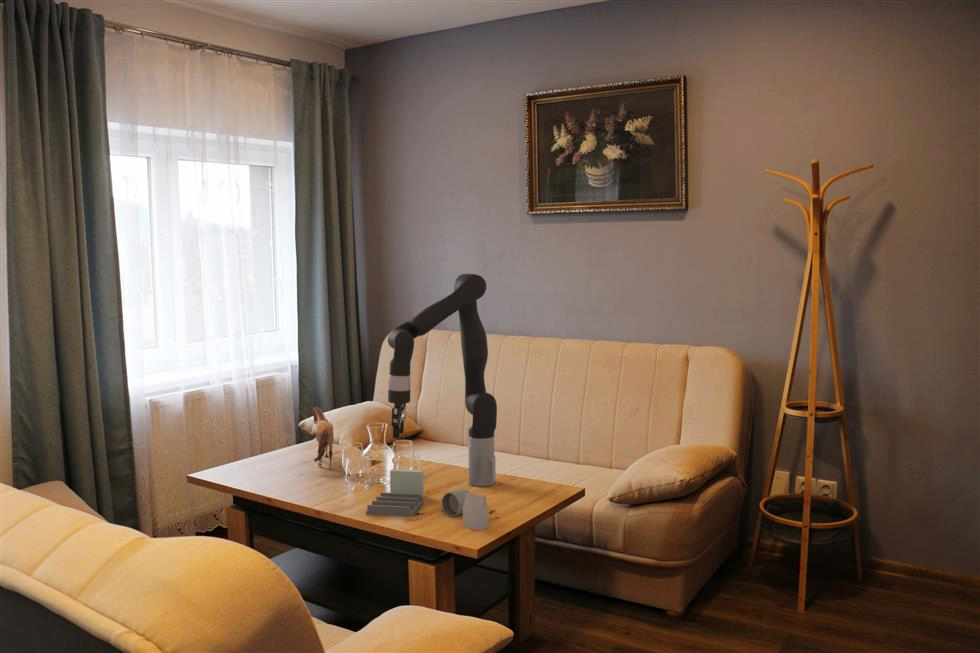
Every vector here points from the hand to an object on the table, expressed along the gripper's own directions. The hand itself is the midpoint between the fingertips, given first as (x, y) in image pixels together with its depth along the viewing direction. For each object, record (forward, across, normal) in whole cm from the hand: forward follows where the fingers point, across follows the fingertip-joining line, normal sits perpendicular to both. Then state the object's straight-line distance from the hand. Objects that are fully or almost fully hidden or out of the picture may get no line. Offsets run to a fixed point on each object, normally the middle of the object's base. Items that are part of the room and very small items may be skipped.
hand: (398, 435), depth 281 cm
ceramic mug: (+21, -18, -22) cm, 35 cm away
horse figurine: (+21, +41, +38) cm, 60 cm away
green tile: (+21, -1, -4) cm, 21 cm away
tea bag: (+21, -31, -29) cm, 47 cm away
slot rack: (+21, -15, -2) cm, 26 cm away
